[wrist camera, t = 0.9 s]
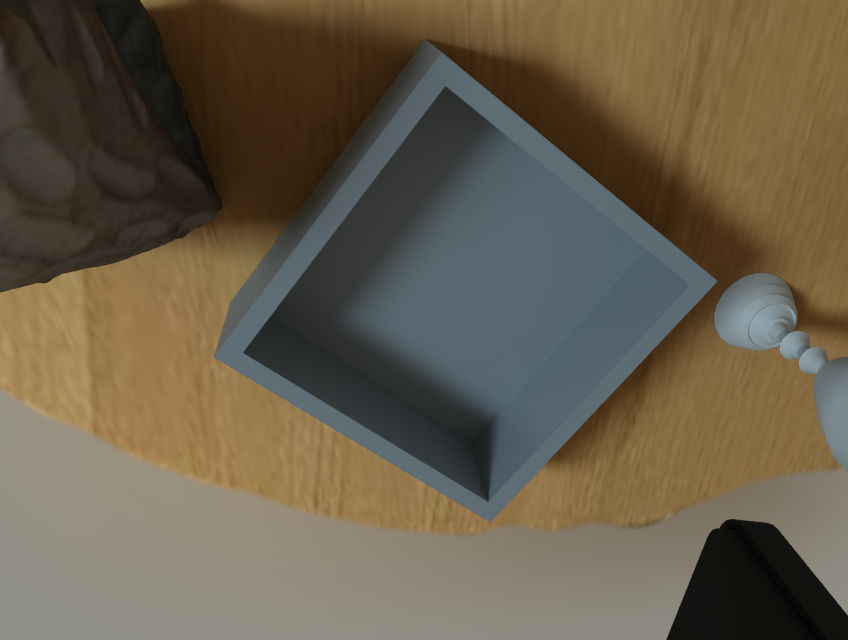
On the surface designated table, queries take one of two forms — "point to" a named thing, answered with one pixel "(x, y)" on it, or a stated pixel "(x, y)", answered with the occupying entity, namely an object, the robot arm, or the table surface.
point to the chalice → (786, 347)
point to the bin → (457, 291)
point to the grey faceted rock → (91, 140)
